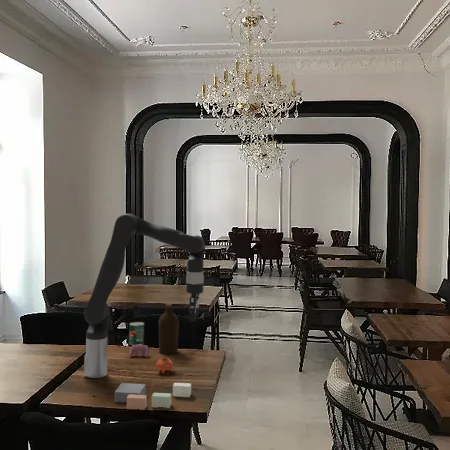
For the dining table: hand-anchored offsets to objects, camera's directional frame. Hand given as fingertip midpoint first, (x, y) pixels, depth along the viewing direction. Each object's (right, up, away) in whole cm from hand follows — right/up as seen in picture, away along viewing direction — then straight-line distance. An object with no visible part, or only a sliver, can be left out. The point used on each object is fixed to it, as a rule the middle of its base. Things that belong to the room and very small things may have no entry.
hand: (194, 318), depth 232 cm
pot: (-15, -27, +14) cm, 34 cm away
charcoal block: (-25, -29, -18) cm, 42 cm away
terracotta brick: (-20, -30, -28) cm, 45 cm away
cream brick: (-4, -29, -14) cm, 32 cm away
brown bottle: (-16, -25, +45) cm, 54 cm away
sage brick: (-11, -30, -25) cm, 41 cm away
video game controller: (-30, -26, +36) cm, 54 cm away
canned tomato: (-35, -24, +59) cm, 73 cm away
